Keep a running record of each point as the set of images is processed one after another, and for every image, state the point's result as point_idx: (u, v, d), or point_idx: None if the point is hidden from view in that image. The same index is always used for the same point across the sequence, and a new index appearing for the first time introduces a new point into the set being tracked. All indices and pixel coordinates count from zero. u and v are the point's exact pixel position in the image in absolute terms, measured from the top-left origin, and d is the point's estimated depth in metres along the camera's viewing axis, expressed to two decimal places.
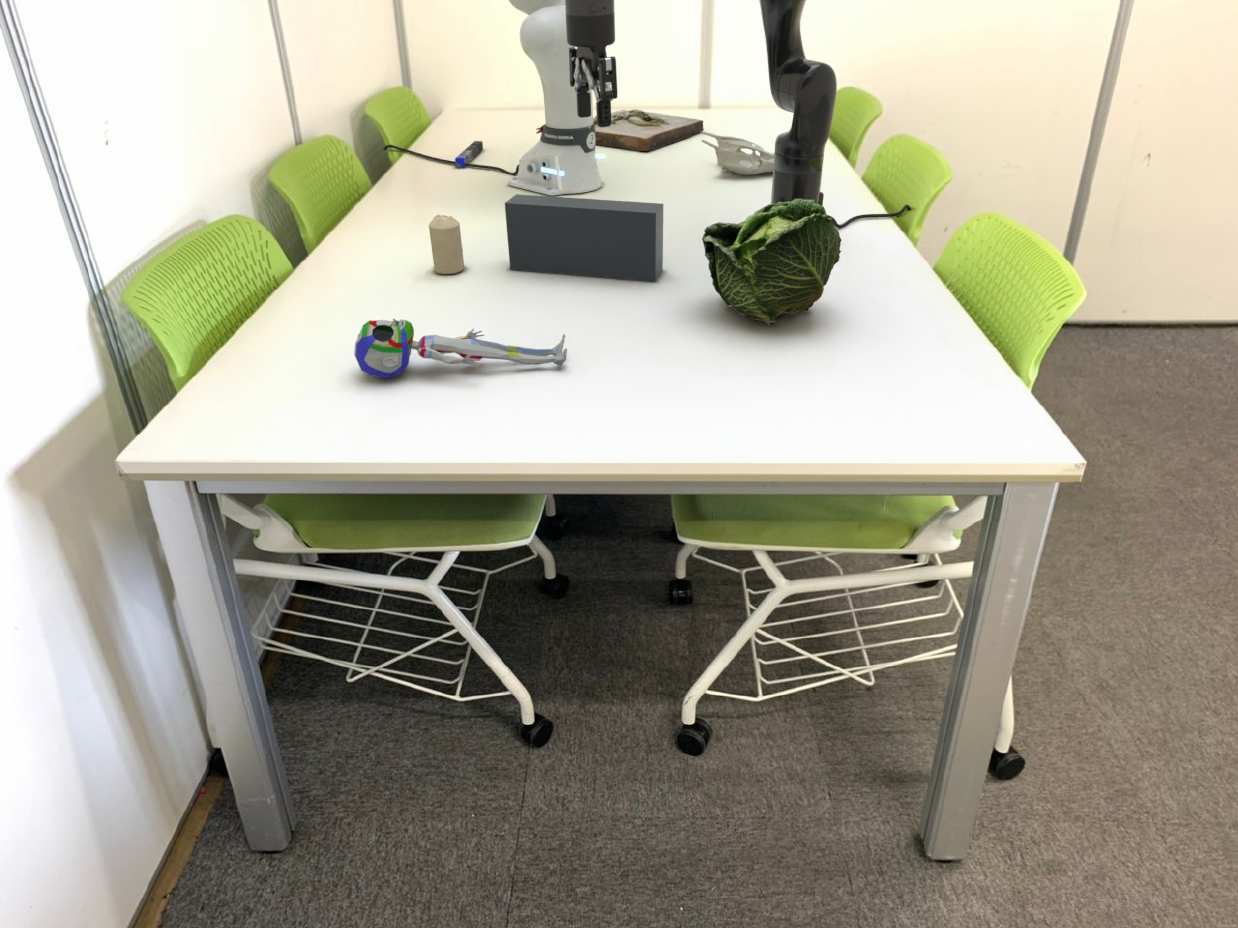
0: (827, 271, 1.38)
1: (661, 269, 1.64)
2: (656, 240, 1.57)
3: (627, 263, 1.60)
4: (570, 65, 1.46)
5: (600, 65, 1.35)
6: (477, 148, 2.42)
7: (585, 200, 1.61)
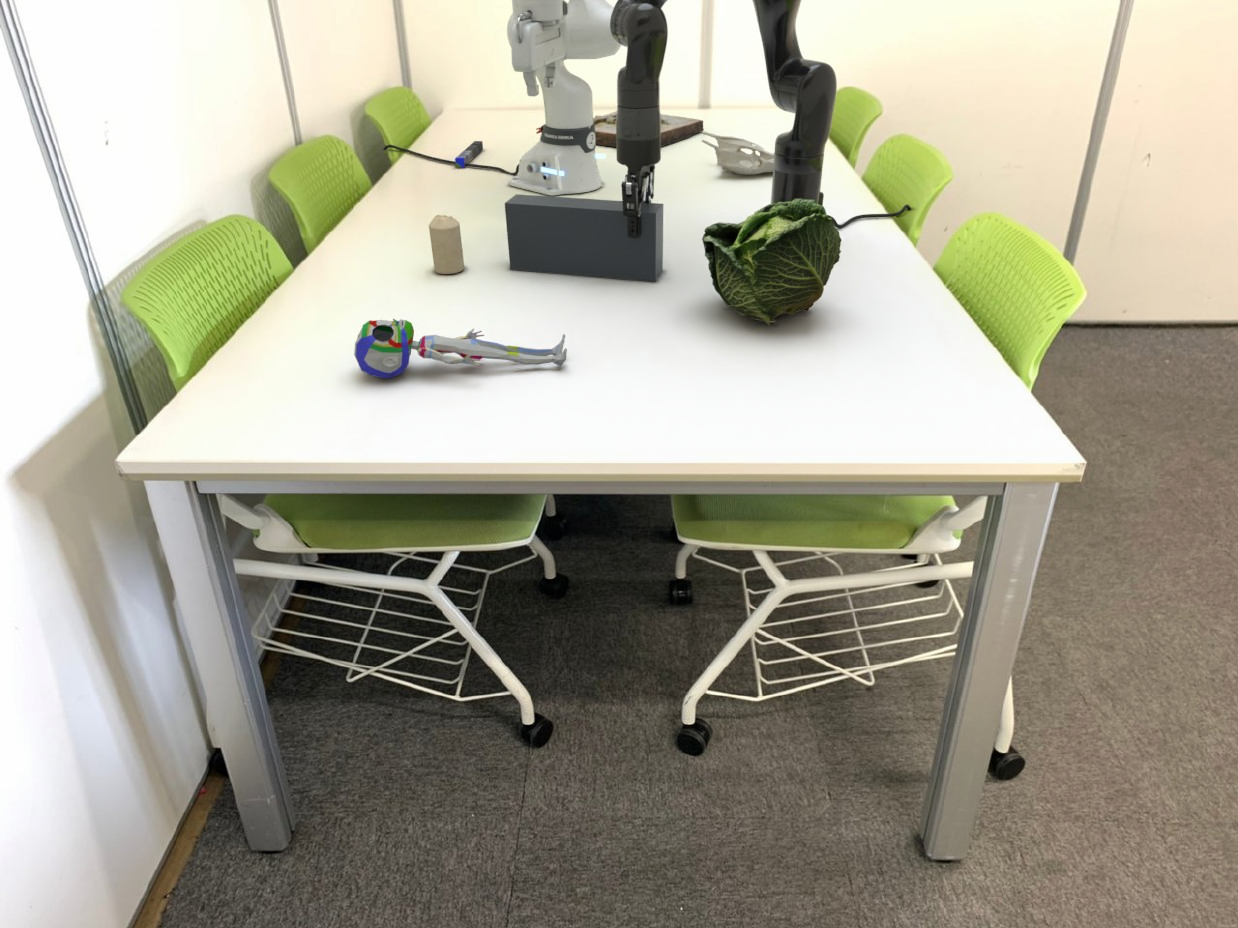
0: (827, 271, 1.38)
1: (661, 269, 1.64)
2: (656, 240, 1.57)
3: (627, 263, 1.60)
4: None
5: (622, 188, 1.50)
6: (477, 148, 2.42)
7: (585, 200, 1.61)
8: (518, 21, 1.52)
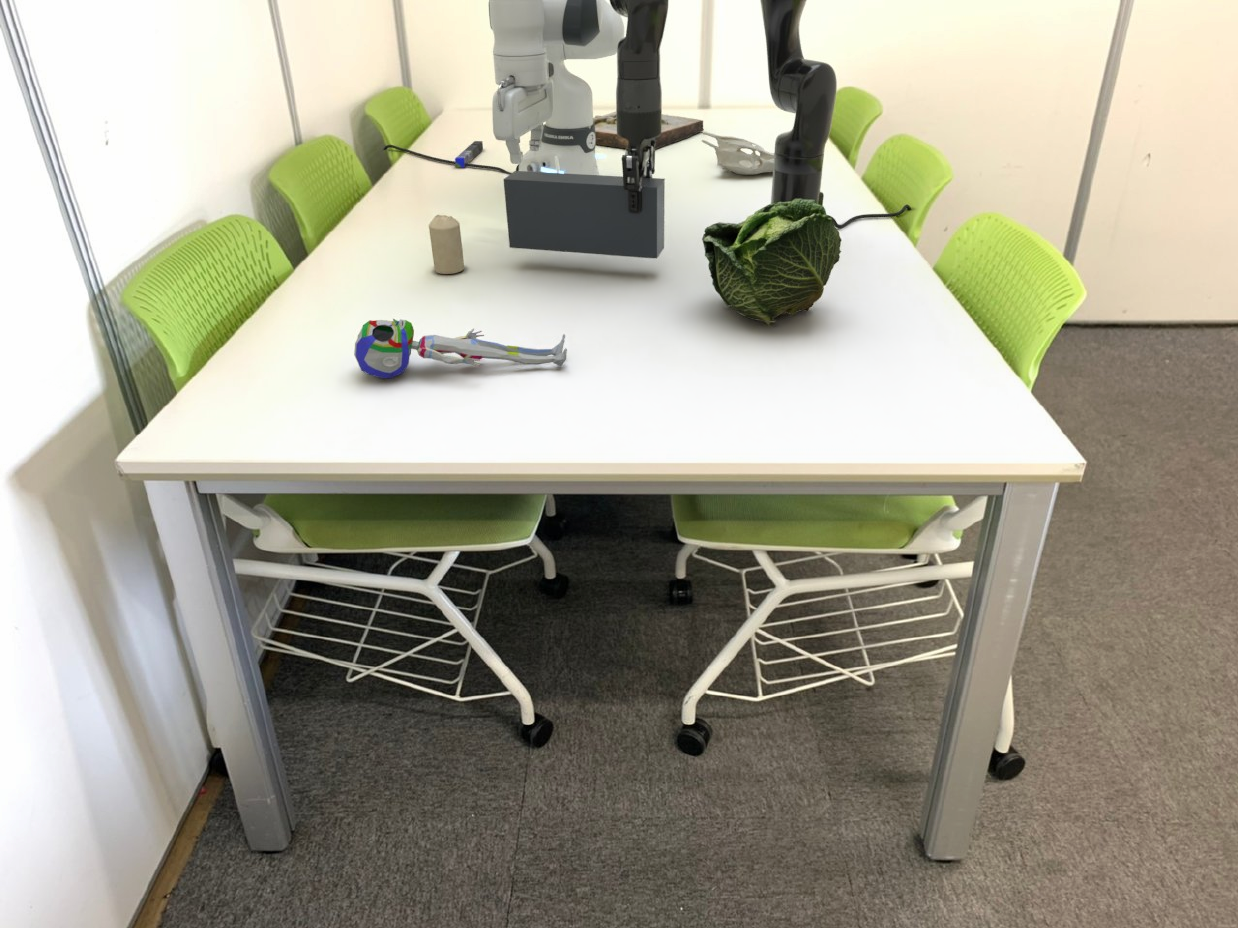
0: (827, 271, 1.38)
1: (662, 246, 1.62)
2: (657, 215, 1.55)
3: (628, 239, 1.58)
4: None
5: None
6: (477, 148, 2.42)
7: (585, 175, 1.59)
8: (499, 89, 1.43)
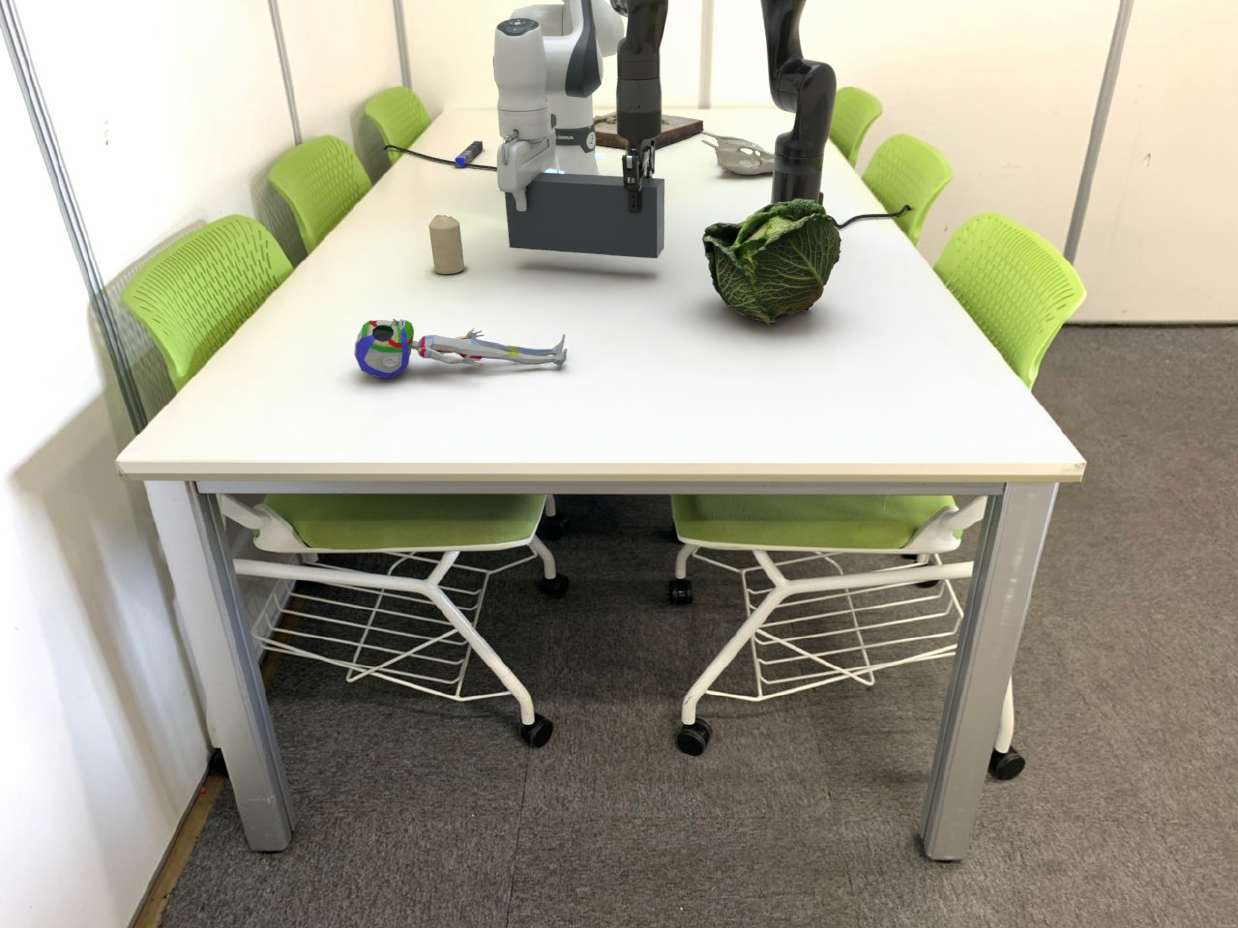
0: (827, 271, 1.38)
1: (662, 246, 1.62)
2: (657, 215, 1.55)
3: (628, 239, 1.58)
4: None
5: None
6: (477, 148, 2.42)
7: (585, 176, 1.59)
8: (504, 144, 1.47)
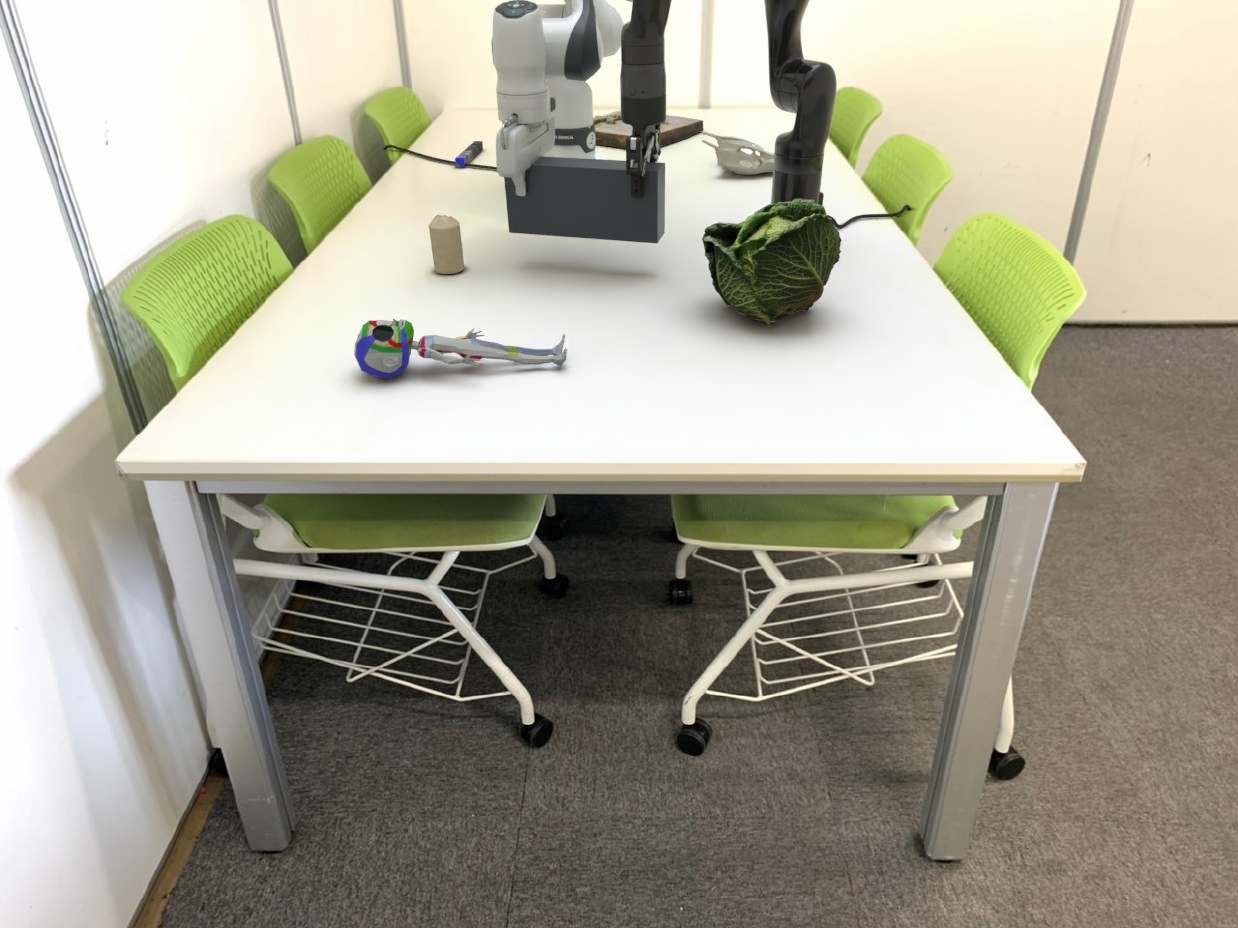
0: (827, 271, 1.38)
1: (663, 231, 1.61)
2: (658, 200, 1.54)
3: (629, 224, 1.57)
4: None
5: None
6: (477, 148, 2.42)
7: (585, 160, 1.58)
8: (503, 128, 1.46)
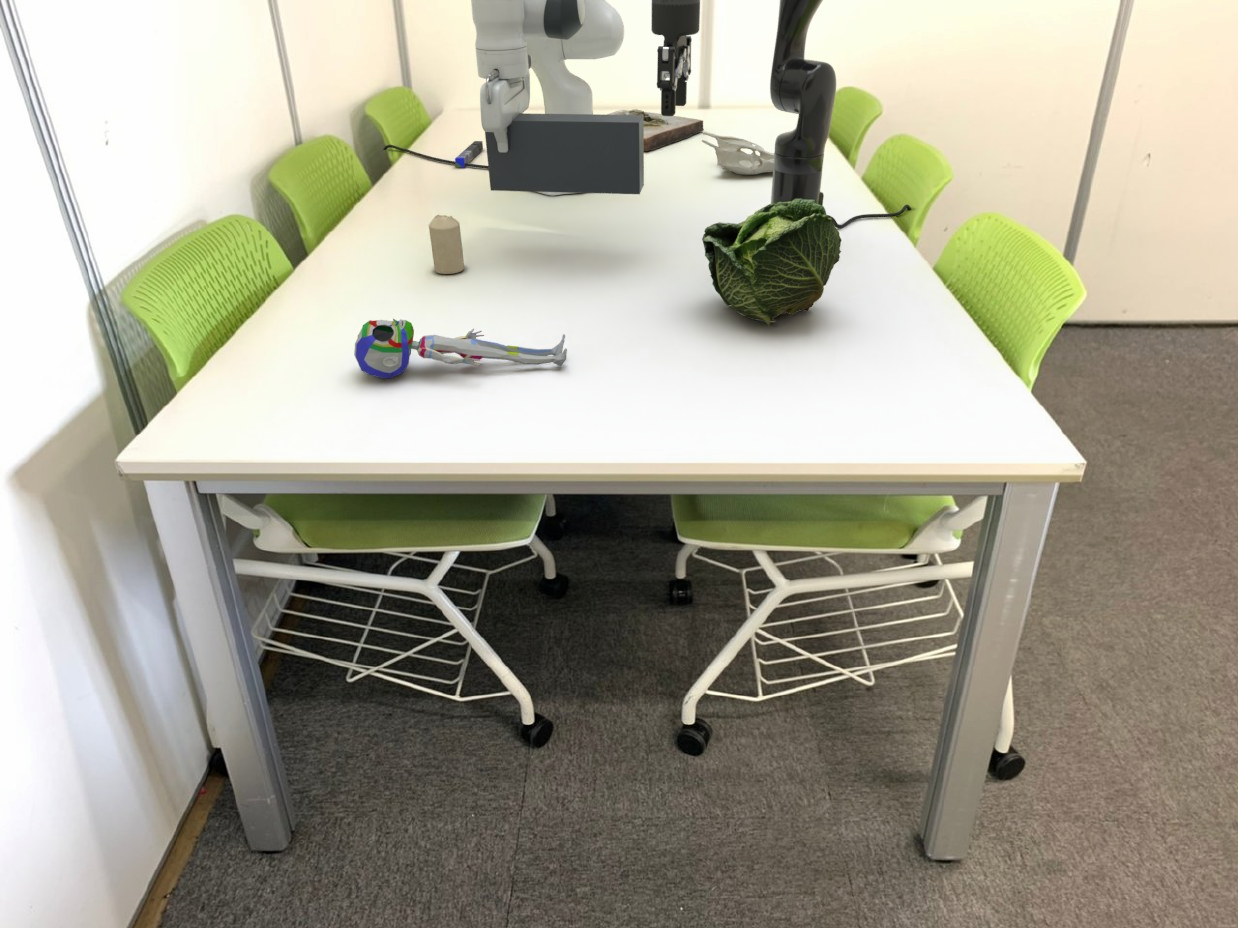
0: (827, 271, 1.38)
1: (643, 183, 1.65)
2: (639, 151, 1.58)
3: (611, 176, 1.61)
4: None
5: (658, 53, 1.37)
6: (477, 148, 2.42)
7: (564, 115, 1.61)
8: (487, 82, 1.48)
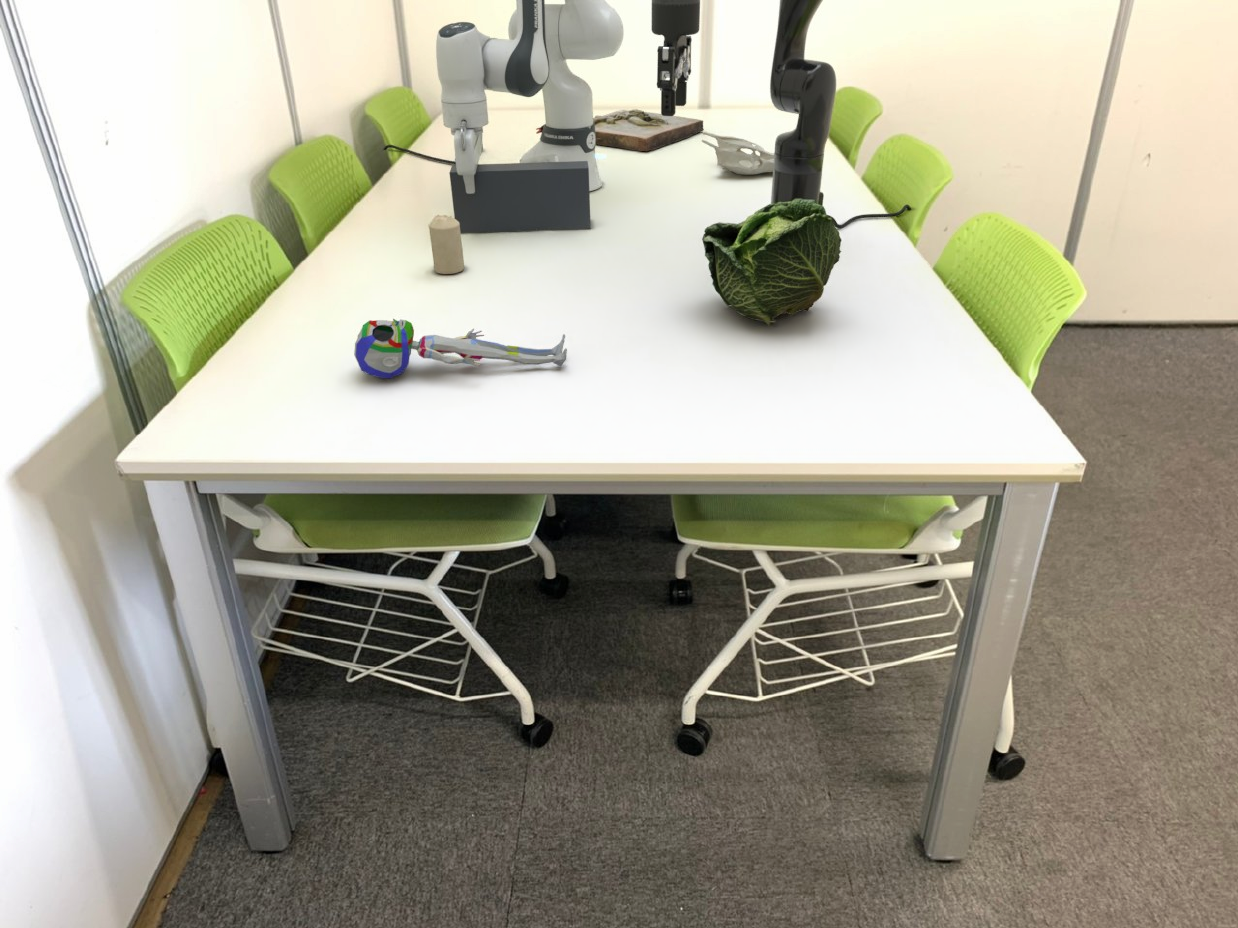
0: (827, 271, 1.38)
1: None
2: None
3: (565, 215, 1.85)
4: None
5: (658, 53, 1.37)
6: None
7: (518, 164, 1.84)
8: (462, 132, 1.68)
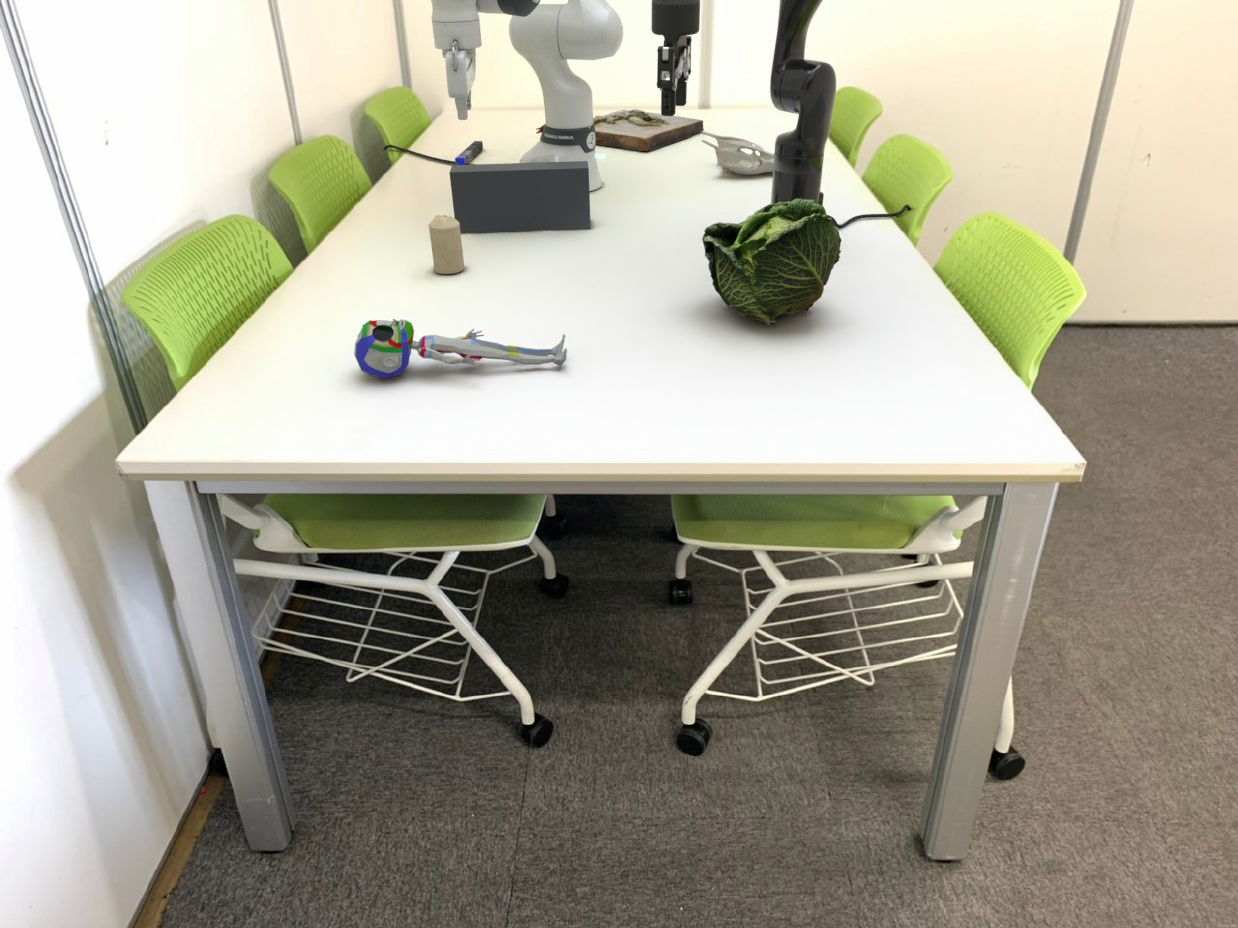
0: (827, 271, 1.38)
1: None
2: None
3: (565, 215, 1.85)
4: None
5: (658, 53, 1.37)
6: (477, 148, 2.42)
7: (518, 164, 1.84)
8: (453, 51, 1.61)
